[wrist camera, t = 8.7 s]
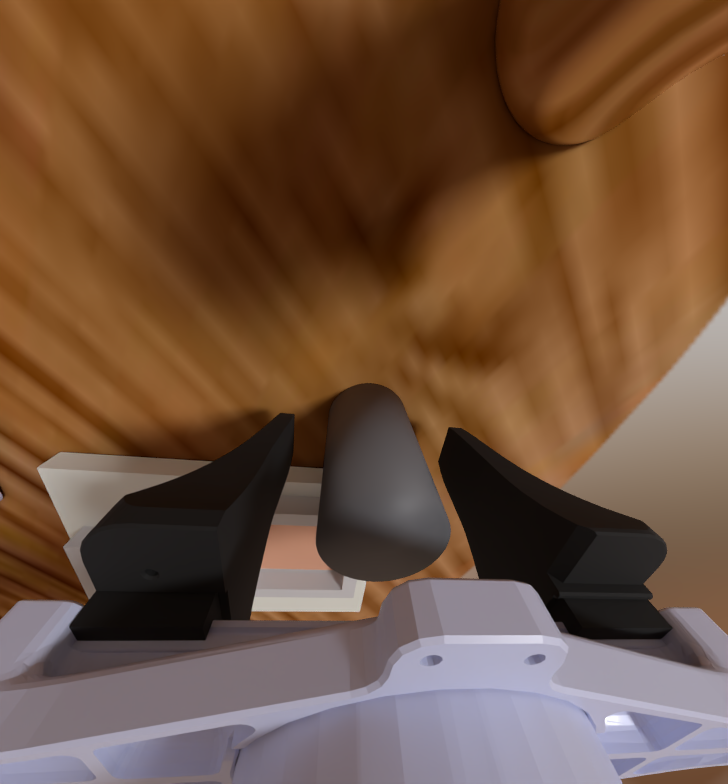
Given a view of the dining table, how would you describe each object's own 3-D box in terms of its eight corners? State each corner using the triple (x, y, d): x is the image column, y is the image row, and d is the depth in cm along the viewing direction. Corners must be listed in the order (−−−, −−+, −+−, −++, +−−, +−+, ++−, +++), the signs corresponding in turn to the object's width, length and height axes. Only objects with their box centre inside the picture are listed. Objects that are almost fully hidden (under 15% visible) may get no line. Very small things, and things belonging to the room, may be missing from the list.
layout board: (117, 590, 19) (88, 632, 17) (60, 452, 14) (9, 486, 12) (359, 593, 21) (360, 631, 19) (384, 472, 16) (390, 505, 14)
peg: (325, 446, 15) (312, 580, 9) (332, 379, 13) (320, 485, 7) (397, 451, 16) (432, 582, 9) (411, 387, 14) (466, 493, 8)
